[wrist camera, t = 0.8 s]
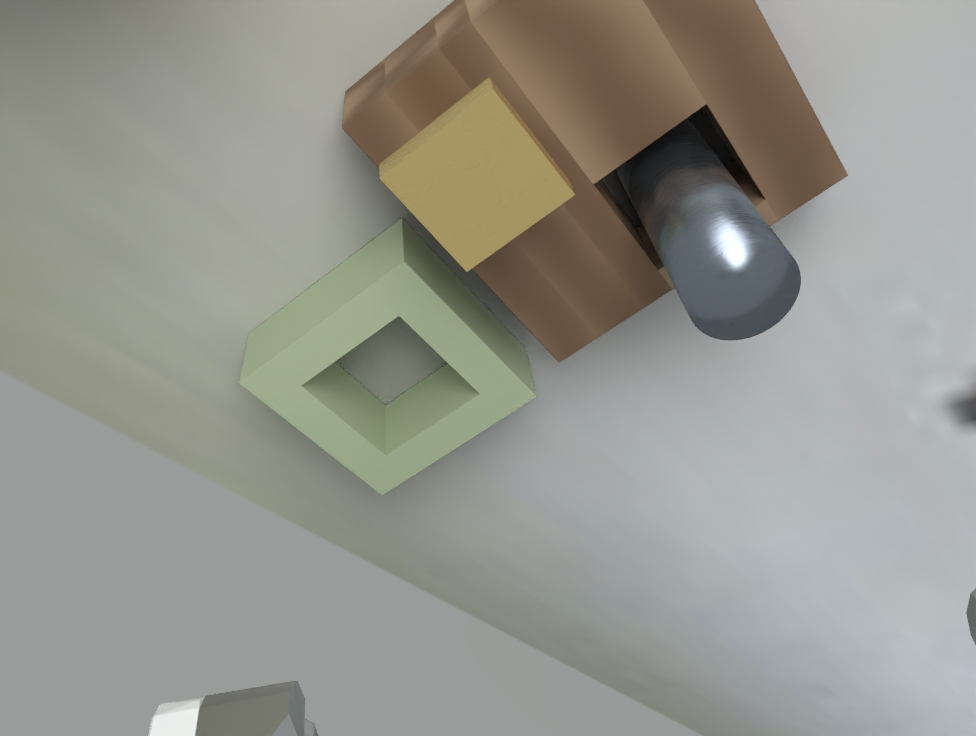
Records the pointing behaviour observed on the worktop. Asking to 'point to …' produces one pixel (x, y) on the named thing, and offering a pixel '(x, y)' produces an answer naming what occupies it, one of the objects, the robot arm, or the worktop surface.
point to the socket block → (602, 131)
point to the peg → (710, 237)
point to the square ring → (355, 317)
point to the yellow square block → (476, 176)
